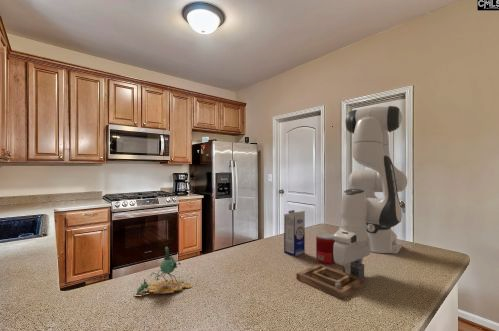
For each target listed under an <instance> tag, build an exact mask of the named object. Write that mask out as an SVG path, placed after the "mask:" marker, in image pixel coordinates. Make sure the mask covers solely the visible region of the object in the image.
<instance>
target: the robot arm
mask: <svg viewBox="0 0 499 331" xmlns="http://www.w3.org/2000/svg"><path fill="white" fill-rule="evenodd" d="M402 121H403V115H402V111H400V108H399V107H398V106H396V105H394V106H393V105H389V106H372V107H368V108H361V109H353V110H350V111H349V112H348V113H347V114H346V116H345V121H344V124H345V127H346V131H347V132H348V133H350V134H353V135H352V143H351V144H352V145H351V146H352V147H351V148H352V149H351V152H352V153H351V154H352V158H353V159H354V161H355V162H356V163H357V164H359V165H361V166H363V167H365V168H369V169H358V170H353V171H351V173H350V174H349V176H348V184H349V187H350V189H349V188H348V189H346V190H343V191H342V195H341V203H340V215H341V222H340V227H339V229H338V230H337V231H336V232H334V234H332V235H333V240H335V242H334V247H333V256H334V261H335V263H334V264H336V265H339V266H342V267H343V266H344V268H345V274H347V275H350V274H352V269H350V265H351V262H354V261H356V260H357V261H360V262H361V264H363V261H364V258H365V257H368V256H370V255H371V252H373V253H378V254H395V255H397V254H398V253H399V252H400V250H401V249H402V248H403V244H401V243H398V236H397V234H396V232H394V231H393V230H392V228H393V227H396V226H397V225H399V224H400V223H401V221H402V217H403V212H402V206H401V202H400V198H399V193H401V192H403V191H404V190H405V189H406V188H407V187H408V179H407V178H408V177H407V176H406V174H405V173H404V172H403V171H402V170H399V169H398V168H397V167H396V166H395V165H394V162H393V161H392V159H391V156H390V139H389V138H390V137H389V133H392V132H393V131H396V130H398V129H399V128H400V126H401V124H402ZM375 193H383V198H378V197H377V196H376V194H375Z"/></svg>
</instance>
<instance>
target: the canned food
mask: <svg viewBox="0 0 499 331" xmlns="http://www.w3.org/2000/svg"><path fill="white" fill-rule="evenodd" d="M333 235H334V234H331V233H324V232H323V233H320V232H319V233H317V234H316V237H315V239H316V240H315V242H316V243H315V244H316V246H315V250H316V251H315V253H316V261H317V262H318V264H321V265H334V264H336V263H335V261H334V256H333V247H334V242H335V240H333Z"/></svg>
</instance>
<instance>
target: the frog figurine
mask: <svg viewBox="0 0 499 331" xmlns="http://www.w3.org/2000/svg"><path fill="white" fill-rule="evenodd" d="M164 250H165V256H164V258H163V259H162V260H161V262H160V265H159V266H160V267H159V269H160V270H158V271H157V273H156V272H152V273H151V274H150V275H149V276H150V277H151V276H152V275H156V276H155V278H154V280H156V281H154V282H149V283H148V282H147V281H146V279H143V281H144V282H143V283H141V285H140V286H139V288H138V287H137V288H138V289H137V290H136V292H135V293H134V295H135V294H136V295H143V296H142V297H145V296H148V295H147V294H146V293H148V292H151V293H152V294H161V295H163V294H164V295H165V294H171V293H175V292H178V291H183V289H191V288H192V287H193V284H192V285H191V283H188V282H185V281H184V280H180V279H177V278H176V276H175V275H173V274H172V273H173V272H174V271H175V269H178V265H181V264H182V263H181V262H178V263H177V262H176V260H175V259H174V256H173V255H172V253H170V251H169V247H168V246H165V248H164ZM160 271H161V274H160ZM163 274H164V275H163ZM166 274H168V275H169V277H170V278H171V279H169V280H168V279H166V278H165V276H166ZM159 277H163V278H164V280H160V279H159ZM173 277H174V278H173ZM147 290H148V292H147ZM144 295H145V296H144Z"/></svg>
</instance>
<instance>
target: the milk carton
mask: <svg viewBox="0 0 499 331" xmlns="http://www.w3.org/2000/svg"><path fill="white" fill-rule="evenodd" d="M283 216H284V217H283V235H284V236H283V253H284V254H287V255H289V256H293V257H295V258H296V257H298V256H301V255H304V254H305V252H306V251H305V250H306V246H305V245H306V244H305V243H306V242H305V240H306V237H305V233H306V232H305V231H306V230H305V229H306V228H305V226H306V225H305V224H306V222H305V221H306V219H305V218H306V214H305V210H301V211H295V210H294V209H292V210H289V211H288V213H285V214H284V215H283Z"/></svg>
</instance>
